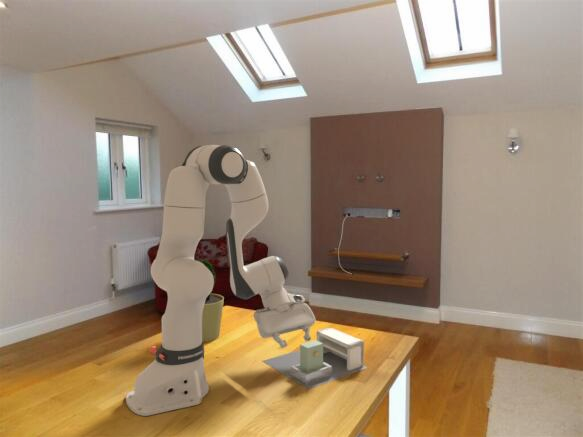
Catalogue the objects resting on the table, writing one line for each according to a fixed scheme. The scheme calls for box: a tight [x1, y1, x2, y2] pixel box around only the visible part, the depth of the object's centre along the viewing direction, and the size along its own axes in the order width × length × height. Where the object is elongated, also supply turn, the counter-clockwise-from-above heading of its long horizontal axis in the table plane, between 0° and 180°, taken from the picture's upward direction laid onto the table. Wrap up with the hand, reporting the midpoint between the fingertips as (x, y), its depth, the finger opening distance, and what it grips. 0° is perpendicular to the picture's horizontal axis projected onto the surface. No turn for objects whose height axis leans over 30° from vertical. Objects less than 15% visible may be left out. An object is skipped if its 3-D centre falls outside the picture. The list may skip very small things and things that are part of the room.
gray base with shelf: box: [262, 327, 369, 390], centre depth 146 cm, size 24×24×9 cm
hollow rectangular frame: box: [291, 362, 332, 385], centre depth 138 cm, size 10×7×3 cm
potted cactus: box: [196, 259, 225, 343], centre depth 172 cm, size 15×15×30 cm
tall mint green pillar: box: [299, 339, 323, 373], centre depth 137 cm, size 6×4×10 cm
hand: (296, 343), depth 143 cm, fingers open, 8 cm apart
